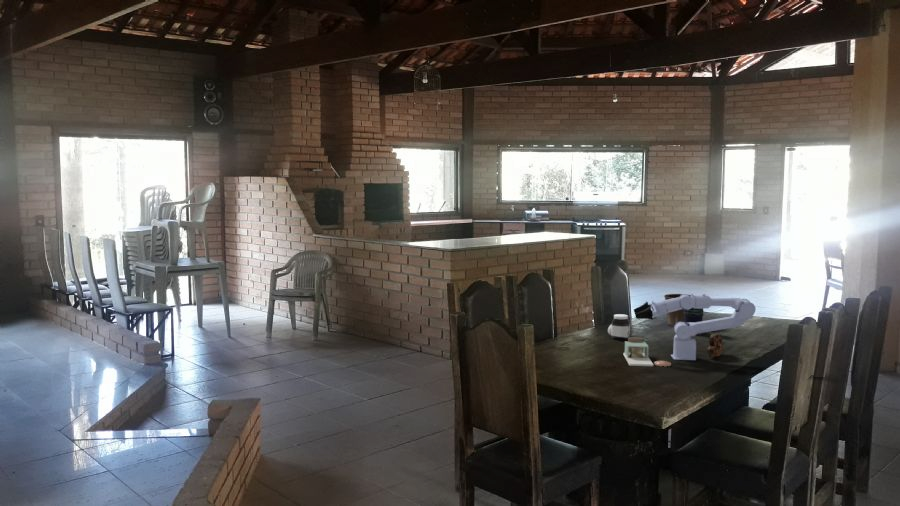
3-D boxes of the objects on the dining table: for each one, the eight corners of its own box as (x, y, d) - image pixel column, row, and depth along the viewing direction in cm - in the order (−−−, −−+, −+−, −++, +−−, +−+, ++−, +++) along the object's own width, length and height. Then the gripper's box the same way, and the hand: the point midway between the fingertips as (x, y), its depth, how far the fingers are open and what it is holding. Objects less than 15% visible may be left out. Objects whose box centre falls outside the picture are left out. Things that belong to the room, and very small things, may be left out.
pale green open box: (644, 352, 331) (645, 337, 330) (648, 357, 322) (648, 342, 321) (624, 352, 332) (625, 337, 331) (627, 357, 323) (627, 341, 322)
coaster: (669, 362, 318) (669, 360, 318) (672, 366, 311) (672, 365, 311) (652, 362, 319) (653, 360, 319) (655, 366, 312) (655, 364, 312)
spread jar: (623, 341, 360) (624, 317, 359) (602, 338, 367) (602, 315, 365) (633, 336, 369) (633, 314, 368) (612, 334, 376) (613, 311, 375)
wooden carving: (717, 360, 321) (717, 338, 320) (706, 359, 324) (707, 337, 323) (724, 353, 335) (725, 331, 334) (714, 352, 338) (715, 330, 337)
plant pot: (662, 327, 394) (663, 297, 392) (663, 321, 409) (664, 293, 407) (694, 329, 389) (695, 299, 387) (693, 323, 404) (695, 294, 403)
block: (640, 356, 329) (640, 345, 329) (642, 359, 325) (642, 348, 324) (630, 356, 330) (630, 345, 329) (631, 358, 325) (632, 347, 325)
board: (645, 355, 332) (645, 353, 331) (653, 366, 312) (653, 364, 312) (623, 354, 333) (623, 352, 332) (629, 365, 313) (629, 363, 313)
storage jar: (705, 335, 374) (706, 306, 372) (685, 335, 374) (687, 306, 372) (699, 331, 384) (700, 303, 382) (680, 330, 384) (681, 302, 382)
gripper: (661, 294, 332) (631, 301, 334) (665, 302, 318) (633, 310, 320) (665, 308, 333) (635, 316, 335) (669, 317, 319) (638, 325, 321)
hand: (634, 314), depth 328 cm, fingers open, 7 cm apart
